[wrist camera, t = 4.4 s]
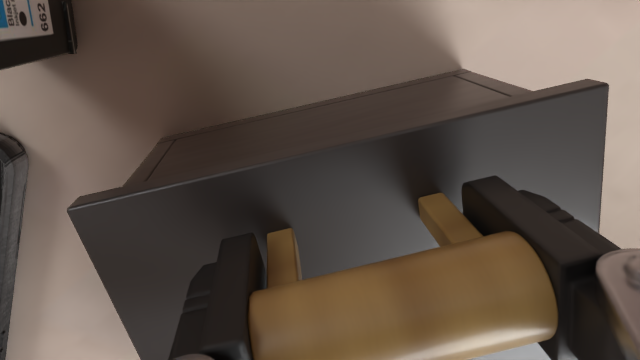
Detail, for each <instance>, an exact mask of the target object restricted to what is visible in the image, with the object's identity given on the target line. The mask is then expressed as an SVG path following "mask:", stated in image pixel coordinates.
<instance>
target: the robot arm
mask: <svg viewBox="0 0 640 360" xmlns="http://www.w3.org/2000/svg"><path fill="white" fill-rule="evenodd" d="M461 193H462V207H463V215H464V216H465V217H466V218H467V219H468V220H469V221H470V222H471V223H472V224H473V226H474V227H475V228H476V229H477V230H478V231H479V232H480V233H481V234H482V235H483V236H487V235H491V234H495V233H500V232H504V231H512V232H515V233H517V234H519V235H521V236H522V237H523V238H524V239H525V240H526V241H527V242H528V243H529V244H530V245H531V246H532V247H533V249H534V250H535V252H536V253H537V255H538V256H539V258H540V259H541V261H542V263H543V265H544V267H545V269H546V271H547V273H548V275H549V278H550V280H551V283H552V286H553V289H554V293H555V296H556V301H557V306H558V327H557V331H556V333H555V334H554V336H553V337H552V338H550V339H549V340H545V341H541V342H537V343H538V344H539V345H540V347H541V348H542V349H543V350H544V352H545V353H546V354H547V355H548V357H549V358H550V359H551V360H640V249H621V248H619V247H618V246H616V245H615V244H613V243H612V242H610V241H609V240H608V239H606V238H605V237H603V236H602V235H600V234H599V233H597V232H596V231H594V230H593V229H591V228H590V227H589V226H587V225H586V224H584V223H583V222H581V221H580V220H578V219H576V220H575V218H574V216H572V215H571V214H570V213H568V212H567V211H565V210H561V207H559V206H558V205H556V204H555V203H553V202H552V201H551V200H549V199H548V198H546V197H544V196H541V195H538V194H535V193H532V192H529V191H526V190H519V191H517V190H516V189H514V188H513V187H512V186H510V185H509V184H508V183H506V182H505V181H504V180H502V179H501V178H499V177H498V176H495V175H494V176H490V177H485V178H481V179H477V180H473V181H469V182H465V183H463V185H462V190H461ZM266 286H267V273H266V269H265V266H264V263H263V260H262V256H261V253H260V250H259V247H258V243H257V240H256V238H255V235H254V234H253V233H252V232H251V233H247V234H243V235H239V236H234V237H230V238H226V239H222V240H221V243H220V248H219V253H218V258H217V262H215V263H211V264H206V265H203V266H202V267H201V269H200V270H199V271H198V272H197V274H196V275H195V276H194V277H193V278H192V280H191V281H190V285H189V288H188V292H187V295H186V299H187V300H185V302H184V306H183V309H182V311H183V313H182V314H181V316H180V320H179V323H178V327H177V330H176V334H175V337H174V341H173V344H172V348H171V351H170V355H169V358H168V360H253V356H252V350H251V344H250V336H249V326H248V303H249V297H250V295H251V293H252V292H254V291H258V290H262V289H266Z"/></svg>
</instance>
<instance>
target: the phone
mask: <svg viewBox="0 0 640 360" xmlns="http://www.w3.org/2000/svg"><path fill="white" fill-rule="evenodd" d="M27 174H28V157H27V155H26V152H25V150H24V149H23V147H22V146H21V145H20V144H19V143H18V142H17V141H16V140H14V139H13V138H12V137H10V136H8V135H5V134H3V133H0V360H5V357H6V349H7V340H8V332H9V324H10V315H11V307H12V299H13V290H14V282H15V274H16V265H17V257H18V249H19V240H20V232H21V224H22V215H23V207H24V199H25V190H26V182H27Z"/></svg>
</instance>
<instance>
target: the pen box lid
mask: <svg viewBox="0 0 640 360" xmlns="http://www.w3.org/2000/svg"><path fill="white" fill-rule="evenodd" d="M608 92H609V85H608V84H607V83H604V82H600V81H595V80H591V79H585V80H580V81H576V82H572V83H567V84H563V85H559V86H554V87H550V88H546V89H542V90H537V91H533V92H529V93H524V94H520V95H516V96H511V97H507V98H503V99H498V100H494V101H490V102H485V103H481V104H477V105H473V106H468V107H464V108H460V109H455V110H451V111H447V112H442V113H438V114H434V115H429V116H425V117H421V118H416V119H412V120H408V121H403V122H399V123H395V124H391V125H386V126H382V127H378V128H373V129H369V130H365V131H360V132H356V133H352V134H347V135H343V136H339V137H334V138H330V139H326V140H322V141H317V142H313V143H309V144H304V145H300V146H296V147H291V148H287V149H283V150H278V151H274V152H270V153H265V154H261V155H257V156H253V157H248V158H244V159H240V160H235V161H231V162H227V163H222V164H218V165H214V166H209V167H205V168H201V169H196V170H192V171H188V172H183V173H179V174H175V175H171V176H166V177H162V178H158V179H153V180H149V181H145V182H140V183H136V184H132V185H127V186H123V187H119V188H114V189H110V190H106V191H102V192H97V193H93V194H89V195H84V196H80V197H79V198H77V199H76V200H75V201H74V202H73V203H72V204H71V205H70V206H69V207H68V208H67V213H68V215H69V217H70V219H71V221H72V223H73V225H74V227H75V229H76V231H77V233H78V235H79V237H80V239H81V241H82V243H83V245H84V247H85V249H86V251H87V253H88V255H89V257H90V259H91V261H92V263H93V265H94V267H95V269H96V271H97V273H98V275H99V277H100V279H101V281H102V283H103V285H104V287H105V289H106V291H107V293H108V295H109V297H110V299H111V301H112V303H113V305H114V307H115V309H116V311H117V313H118V315H119V317H120V319H121V321H122V323H123V325H124V327H125V329H126V331H127V333H128V335H129V337H130V339H131V341H132V343H133V345H134V347H135V349H136V351H137V353H138V355H139V357H140V359H141V360H168V358H169V355H170V351H171V348H172V344H173V341H174V337H175V334H176V330H177V327H178V323H179V320H180V316H181V314H182V313H183V311H182V309H183V306H184V302H185V300H187V299H186V295H187V292H188V288H189V285H190V281H191V280H192V278H193V277H194V276H195V275H196V274H197V272H198V271H199V270H200V269H201V267H202V266H203V265H206V264H211V263H215V262H217V258H218V253H219V248H220V243H221V240H222V239H226V238H230V237H234V236H239V235H243V234H247V233H251V232H252V233H253V234H254V235H255V238H256V240H257V243H258V247H259V250H260V253H261V256H262V260H263V263H264V266H265V269H266V273H267V286H266V289H262V290H258V291H254V292H252V293H251V295H250V297H249V303H248V326H249V336H250V344H251V350H252V356H253V360H551V359H550V358H549V357H548V355H547V354H546V353H545V352H544V350H543V349H542V348H541V347H540V345H539V344H538V343H537V342H541V341H545V340H549V339H550V338H552V337H553V336H554V334H555V333H556V331H557V327H558V306H557V301H556V296H555V293H554V289H553V286H552V283H551V280H550V278H549V275H548V273H547V271H546V269H545V267H544V265H543V263H542V261H541V259H540V258H539V256H538V255H537V253H536V252H535V250H534V249H533V247H532V246H531V245H530V244H529V243H528V242H527V241H526V240H525V239H524V238H523V237H522V236H521V235H519V234H517V233H515V232H512V231H504V232H500V233H495V234H491V235H487V236H483V235H482V234H481V233H480V232H479V231H478V230H477V229H476V228H475V227H474V226H473V224H472V223H471V222H470V221H469V220H468V219H467V218H466V217H465V216H464V215H463V207H462V193H461V190H462V185H463V183H465V182H469V181H473V180H477V179H481V178H485V177H490V176H494V175H495V176H498V177H499V178H501V179H502V180H504V181H505V182H506V183H508V184H509V185H510V186H512V187H513V188H514V189H516V190H517V191H519V190H526V191H529V192H532V193H535V194H538V195H541V196H544V197H546V198H548V199H549V200H551V201H552V202H553V203H555V204H556V205H558V206H559V207H561V210H565V211H567V212H568V213H570V214H571V215H572V216H574V218H575V220H576V219H578V220H580V221H581V222H583V223H584V224H586V225H587V226H589V227H590V228H591V229H593V230H594V231H596V232H597V233H599V226H600V211H601V196H602V181H603V166H604V151H605V136H606V122H607V107H608Z"/></svg>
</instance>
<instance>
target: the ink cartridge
mask: <svg viewBox="0 0 640 360" xmlns="http://www.w3.org/2000/svg"><path fill="white" fill-rule="evenodd" d="M76 50H77V39H76V32H75V25H74V18H73V10H72V3H71V0H0V70H3V69H7V68H11V67H15V66H19V65H23V64H27V63H31V62H35V61H39V60H43V59H48V58H52V57H56V56H60V55H64V54H76V53H77V52H76Z"/></svg>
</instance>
